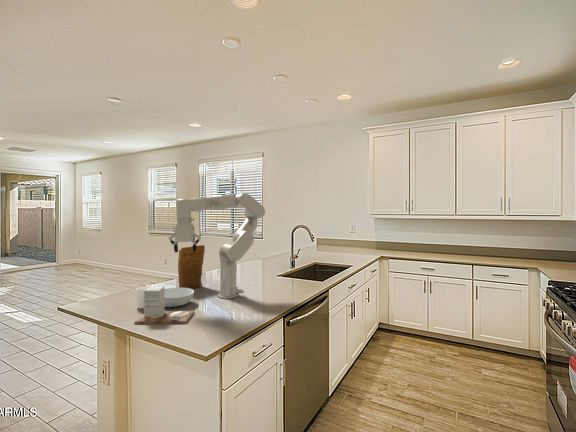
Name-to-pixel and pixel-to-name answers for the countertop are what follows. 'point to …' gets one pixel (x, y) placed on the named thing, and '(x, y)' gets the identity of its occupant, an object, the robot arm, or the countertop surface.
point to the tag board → (167, 318)
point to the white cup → (140, 296)
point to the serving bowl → (177, 296)
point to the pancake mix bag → (190, 267)
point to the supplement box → (154, 302)
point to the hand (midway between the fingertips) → (185, 251)
